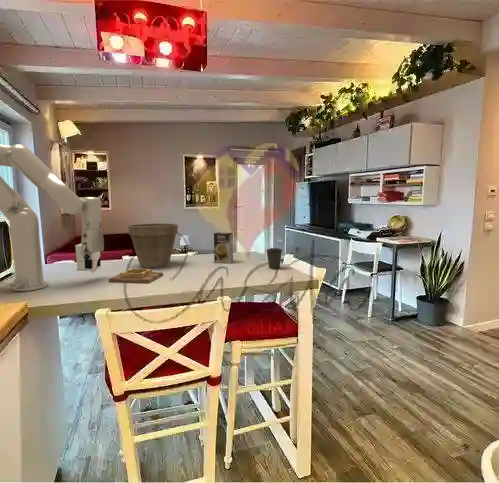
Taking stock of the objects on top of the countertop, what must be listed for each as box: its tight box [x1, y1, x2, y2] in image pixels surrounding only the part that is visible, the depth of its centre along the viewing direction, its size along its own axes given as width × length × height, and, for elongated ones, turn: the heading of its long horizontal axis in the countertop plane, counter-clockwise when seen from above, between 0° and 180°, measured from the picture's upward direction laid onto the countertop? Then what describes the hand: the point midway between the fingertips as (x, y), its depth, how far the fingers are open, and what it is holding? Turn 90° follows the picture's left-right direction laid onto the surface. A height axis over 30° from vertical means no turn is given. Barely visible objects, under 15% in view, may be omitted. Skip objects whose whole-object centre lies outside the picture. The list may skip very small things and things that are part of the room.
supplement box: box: [74, 243, 99, 271], centre depth 182 cm, size 7×7×13 cm
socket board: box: [108, 268, 164, 284], centre depth 159 cm, size 15×18×4 cm
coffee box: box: [213, 232, 234, 264], centre depth 195 cm, size 9×6×16 cm
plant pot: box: [127, 222, 179, 269], centre depth 188 cm, size 25×25×22 cm
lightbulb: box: [87, 251, 101, 273], centre depth 157 cm, size 6×6×11 cm
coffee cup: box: [266, 247, 283, 270], centre depth 178 cm, size 8×8×10 cm
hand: (92, 266), depth 157 cm, fingers closed on lightbulb, 5 cm apart
